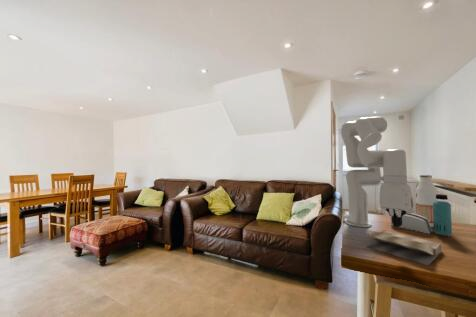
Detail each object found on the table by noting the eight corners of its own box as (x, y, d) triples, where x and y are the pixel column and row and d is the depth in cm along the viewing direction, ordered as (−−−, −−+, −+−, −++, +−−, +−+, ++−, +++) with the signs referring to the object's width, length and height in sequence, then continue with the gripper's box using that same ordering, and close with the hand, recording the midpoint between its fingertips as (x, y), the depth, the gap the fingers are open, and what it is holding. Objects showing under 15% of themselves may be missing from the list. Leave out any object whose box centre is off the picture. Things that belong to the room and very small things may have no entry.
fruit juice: (419, 226, 112) (417, 175, 112) (414, 221, 120) (412, 174, 120) (442, 229, 107) (440, 175, 108) (435, 223, 116) (433, 174, 116)
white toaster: (433, 231, 103) (430, 214, 102) (430, 237, 101) (427, 219, 99) (394, 223, 118) (391, 208, 116) (391, 228, 115) (387, 212, 114)
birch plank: (368, 235, 89) (369, 230, 89) (376, 239, 93) (377, 234, 93) (426, 251, 73) (427, 244, 73) (433, 255, 77) (433, 248, 77)
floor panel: (366, 246, 88) (366, 239, 88) (384, 237, 98) (383, 230, 98) (427, 265, 72) (427, 256, 72) (441, 251, 82) (441, 243, 82)
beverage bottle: (449, 234, 99) (447, 193, 100) (455, 239, 93) (454, 195, 94) (431, 232, 102) (429, 193, 103) (436, 237, 96) (435, 195, 97)
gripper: (370, 179, 86) (372, 223, 85) (415, 181, 74) (418, 233, 73) (378, 178, 90) (380, 220, 90) (422, 180, 78) (424, 229, 77)
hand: (397, 226), depth 81 cm, fingers closed
